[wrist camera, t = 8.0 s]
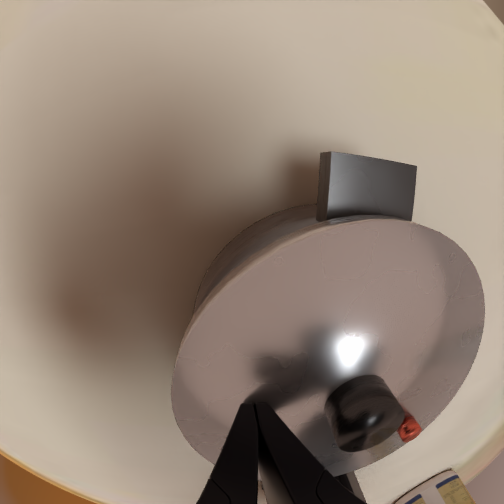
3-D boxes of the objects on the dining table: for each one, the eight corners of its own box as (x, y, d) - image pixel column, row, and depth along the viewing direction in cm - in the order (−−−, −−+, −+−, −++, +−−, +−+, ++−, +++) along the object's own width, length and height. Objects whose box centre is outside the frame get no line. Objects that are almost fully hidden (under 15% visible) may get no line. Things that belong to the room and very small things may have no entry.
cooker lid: (497, 228, 9) (542, 245, 6) (414, 440, 12) (432, 469, 10) (161, 206, 7) (130, 225, 5) (192, 471, 11) (190, 513, 8)
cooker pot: (287, 438, 17) (300, 489, 12) (121, 297, 13) (85, 351, 8) (442, 329, 15) (482, 366, 11) (340, 125, 11) (394, 110, 7)
